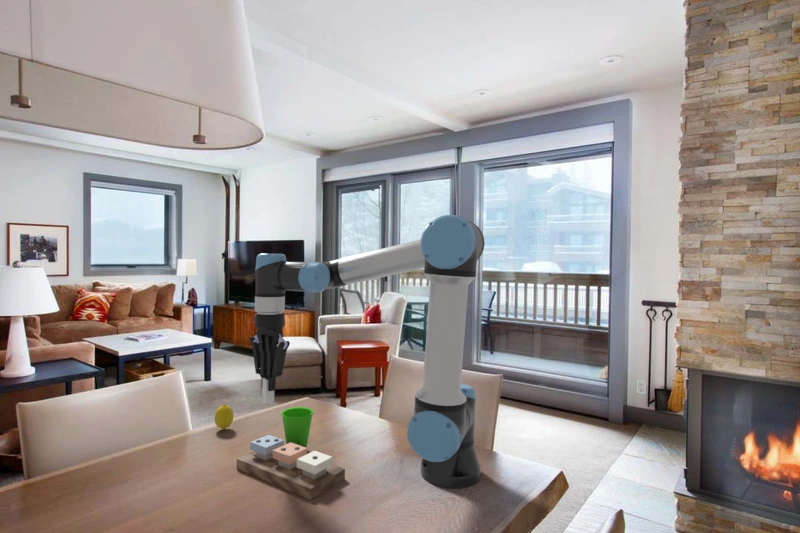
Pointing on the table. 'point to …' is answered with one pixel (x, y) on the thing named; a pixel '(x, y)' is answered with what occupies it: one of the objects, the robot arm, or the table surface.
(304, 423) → the cup
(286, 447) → the tile two
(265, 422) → the table surface
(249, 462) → the board
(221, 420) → the lemon
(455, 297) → the robot arm
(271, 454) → the tile three
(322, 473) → the tile one
